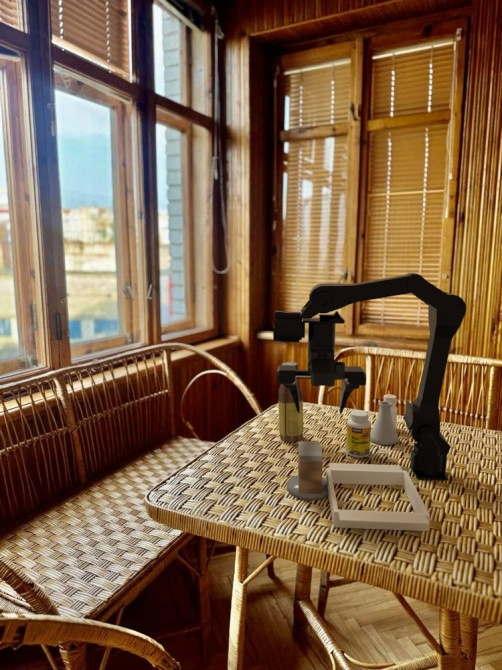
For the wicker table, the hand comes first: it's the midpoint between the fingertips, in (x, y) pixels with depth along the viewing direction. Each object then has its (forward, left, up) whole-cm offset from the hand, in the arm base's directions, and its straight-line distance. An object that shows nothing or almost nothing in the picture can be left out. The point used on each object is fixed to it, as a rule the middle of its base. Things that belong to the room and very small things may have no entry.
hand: (319, 412), depth 104 cm
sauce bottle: (+6, -16, -13) cm, 22 cm away
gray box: (+2, +10, -12) cm, 16 cm away
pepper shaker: (-20, -23, -13) cm, 34 cm away
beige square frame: (-10, +15, -13) cm, 22 cm away
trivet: (+2, +10, -13) cm, 16 cm away
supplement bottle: (-10, -8, -13) cm, 18 cm away
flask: (-18, -16, -13) cm, 28 cm away
